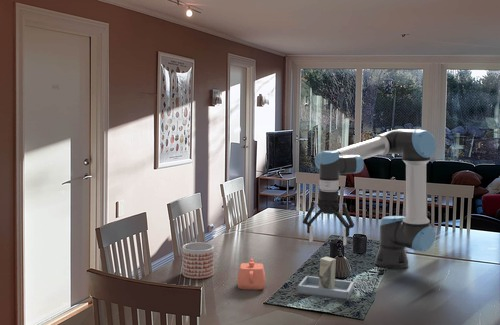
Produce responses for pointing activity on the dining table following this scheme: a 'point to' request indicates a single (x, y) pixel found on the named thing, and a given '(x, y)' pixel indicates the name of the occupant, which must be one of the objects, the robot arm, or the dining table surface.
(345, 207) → the robot arm
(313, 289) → the bin
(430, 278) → the dining table surface
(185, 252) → the planter
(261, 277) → the teapot
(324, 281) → the box
